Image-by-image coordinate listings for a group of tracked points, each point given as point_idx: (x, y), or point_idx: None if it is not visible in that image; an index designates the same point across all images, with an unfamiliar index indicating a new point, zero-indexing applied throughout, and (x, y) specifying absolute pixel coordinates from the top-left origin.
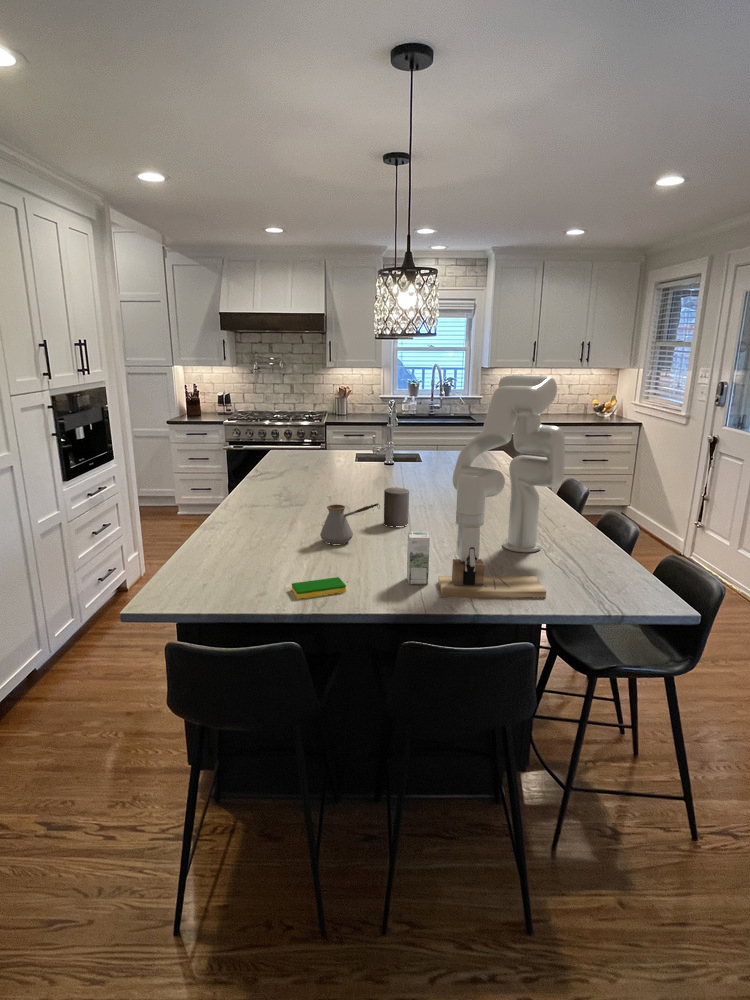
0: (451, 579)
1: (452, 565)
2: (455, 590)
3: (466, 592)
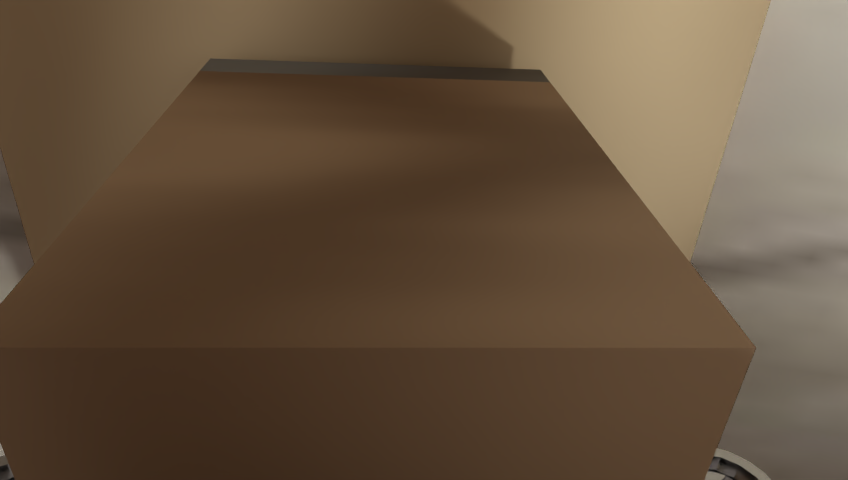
0: (584, 62)
1: (638, 206)
2: (20, 44)
3: (29, 220)
